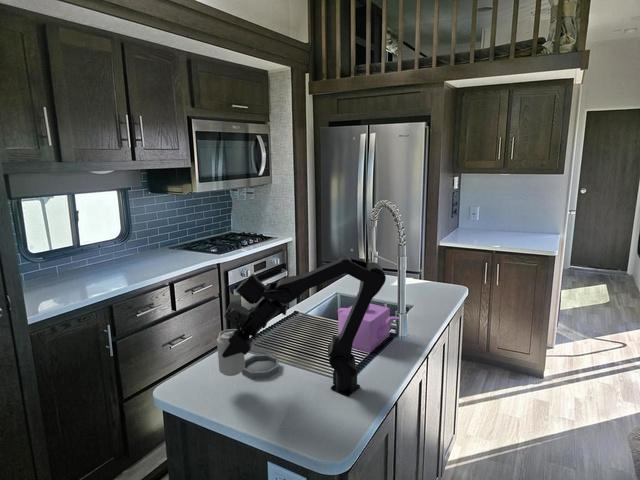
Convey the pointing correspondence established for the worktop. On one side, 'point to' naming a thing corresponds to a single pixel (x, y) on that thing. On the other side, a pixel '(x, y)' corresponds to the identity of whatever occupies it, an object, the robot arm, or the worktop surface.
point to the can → (231, 363)
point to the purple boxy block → (369, 326)
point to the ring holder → (261, 366)
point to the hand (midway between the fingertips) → (226, 350)
